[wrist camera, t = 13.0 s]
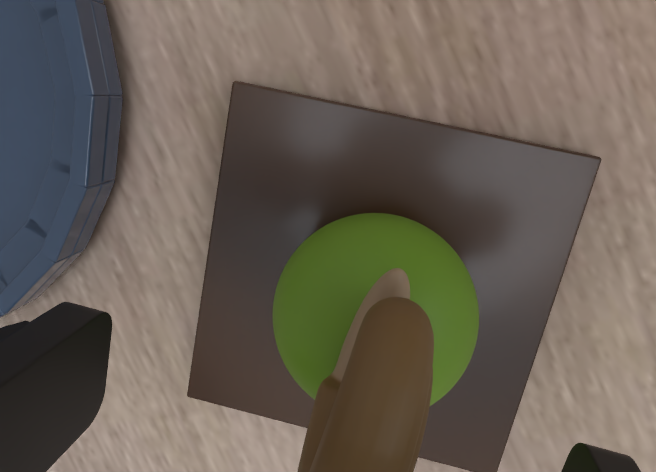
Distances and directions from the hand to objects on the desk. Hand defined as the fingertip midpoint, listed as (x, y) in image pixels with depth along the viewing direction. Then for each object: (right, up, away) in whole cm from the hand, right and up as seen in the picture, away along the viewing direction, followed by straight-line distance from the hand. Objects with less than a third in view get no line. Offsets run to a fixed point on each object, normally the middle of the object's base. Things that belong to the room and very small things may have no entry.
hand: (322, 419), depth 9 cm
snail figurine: (+2, +1, +8) cm, 8 cm away
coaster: (+2, +2, +9) cm, 9 cm away
